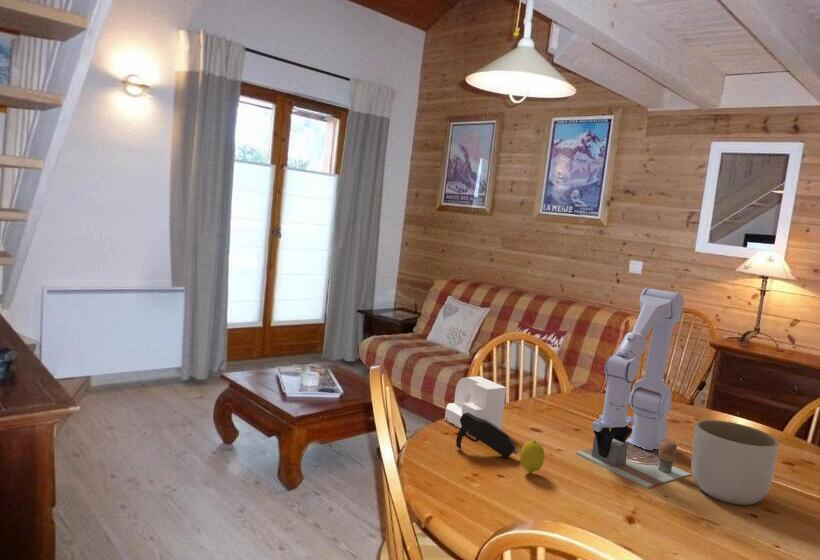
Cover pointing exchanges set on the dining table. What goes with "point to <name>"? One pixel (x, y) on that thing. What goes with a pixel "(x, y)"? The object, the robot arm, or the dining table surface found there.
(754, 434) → the planter
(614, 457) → the block
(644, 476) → the panel
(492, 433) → the gun
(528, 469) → the lemon
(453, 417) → the tape dispenser
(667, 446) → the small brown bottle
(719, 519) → the dining table surface
